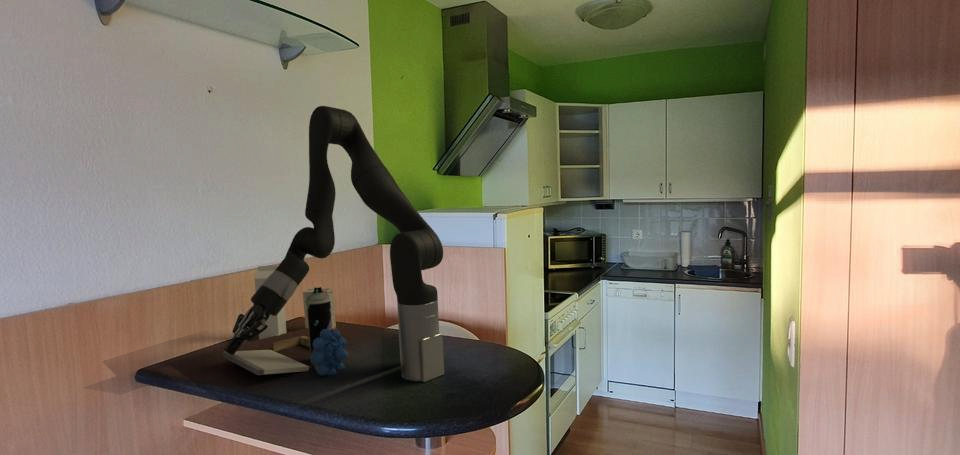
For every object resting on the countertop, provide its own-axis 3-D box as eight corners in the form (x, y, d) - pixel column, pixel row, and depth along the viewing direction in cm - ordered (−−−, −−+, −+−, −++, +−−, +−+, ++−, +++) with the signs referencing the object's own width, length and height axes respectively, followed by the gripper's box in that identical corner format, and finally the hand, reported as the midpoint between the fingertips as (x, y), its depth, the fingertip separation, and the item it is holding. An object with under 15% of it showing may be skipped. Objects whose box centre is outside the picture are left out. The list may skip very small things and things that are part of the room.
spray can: (316, 373, 118) (310, 290, 117) (308, 367, 122) (302, 287, 121) (338, 367, 122) (332, 286, 120) (329, 361, 126) (324, 284, 124)
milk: (279, 340, 147) (274, 267, 145) (258, 341, 147) (253, 268, 145) (286, 334, 153) (281, 263, 151) (267, 335, 153) (261, 264, 151)
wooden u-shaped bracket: (350, 365, 122) (349, 351, 122) (317, 376, 116) (316, 361, 116) (303, 347, 139) (302, 335, 139) (272, 355, 133) (271, 343, 132)
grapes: (330, 390, 107) (327, 336, 106) (306, 386, 110) (302, 333, 109) (362, 371, 118) (359, 321, 117) (339, 368, 121) (336, 320, 120)
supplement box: (336, 328, 158) (333, 287, 157) (330, 332, 153) (327, 290, 152) (311, 328, 159) (308, 288, 158) (305, 333, 154) (302, 291, 153)
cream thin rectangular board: (311, 366, 117) (258, 370, 107) (310, 372, 116) (257, 376, 107) (272, 349, 131) (222, 351, 122) (271, 354, 131) (221, 357, 122)
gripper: (252, 281, 128) (205, 339, 120) (275, 286, 119) (225, 350, 111) (274, 298, 132) (230, 355, 124) (298, 304, 123) (251, 366, 115)
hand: (228, 352), depth 118 cm, fingers closed
